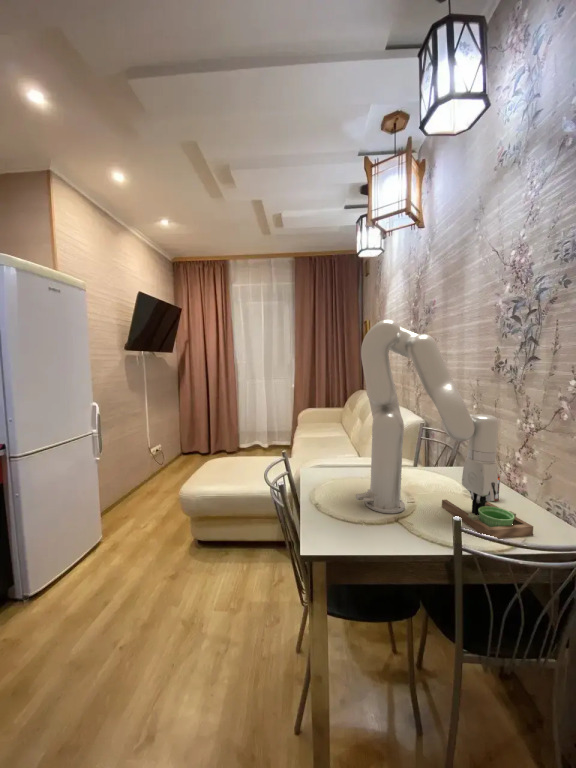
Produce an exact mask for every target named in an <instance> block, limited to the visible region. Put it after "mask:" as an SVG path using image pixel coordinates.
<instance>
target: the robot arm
mask: <svg viewBox="0 0 576 768" xmlns="http://www.w3.org/2000/svg"><path fill="white" fill-rule="evenodd" d="M390 351H391V352H393V353H395V354H397V355H400V356H402V357H405V358H408V359H410V360H411V362H412V364H413V366H414V368H415V371H416V372H417V375H418V378H419V379H420V382H421V384H422V387H423V389H424V390H425V392H426V394H427V395H428V397H429V398H430V399H431V400H432V402H433V404H434V406H435V408H436V409H437V411H438V414H439V416H440V418H441V421H440V424H441V428H442V430H443V431H444V433H445V434H447V435H448V436H449V438H450V439H452V440H454V441H456V442H466V441H468V443H467V444H468V445H467V447H468V448H467V456H466V457H465V459H464V463H463V469H462V476H461V484H462V486H463V488H465V489H466V490H467V491H468V492H469V493H470V500H471V501H472V503H471V514H475V515H476V516H479V512H478V509H479V508H480V507H483V506H485V503H487V501H488V502H489V503H491V502H495V501H494V496H495V495H496V494H497V488H498V474H499V473H498V466H497V465H498V464H497V447H498V433H499V419H498V418H497V417H496V416H494V415H490V414H485V413H484V414H483V413H480V414H477V413H476V414H471V413H470V412H469V410H468V407H467V405H466V403H465V401H464V399H463V397H462V395H461V393H460V391H459V390H458V388H457V385H456V383H455V381H454V379H453V378H452V375H451V373H450V371H449V368H448V366H447V364H446V362H445V360H444V358H443V355H442V352H441V350H440V348H439V346H438V344H437V342H436V340H435V338H433V337H432V336H431V335H429V334H426V333H425V334H424V333H421V334H419V333H415V332H413V331H410V330H408V329H406V328H403V327H402V326H400V324H399V323H398V322H396V321H395V320H393V319H389V318H388V319H387V318H386V319H382V320H380V321H378V322H377V323H375V324H374V325H373V326H371V328H370V329H369V330H368V331H367V333H366V334H365V336H364V337H363V340H362V344H361V347H360V356H361V364H362V370H363V376H364V380H365V381H364V382H365V386H366V387H365V388H366V396H367V398H368V401H369V405H370V411H371V414H372V425H371V428H372V429H371V461H370V462H371V467H370V468H371V469H370V486H369V487H370V488H369V489H367V491H366V492H365V493H356V494H355V500H356V501H362V502H363V503H364V504H365V506H366V507H367V508H369V509H370V510H372V511H373V512H374V511H375V512H377V513H383V514H398V513H402V512H404V511H405V509H406V504H405V501H403V500H401V492H402V490H401V489H402V487H401V486H402V468H403V444H404V435H405V423H404V419H403V417H402V413H401V410H400V405H399V400H398V399H399V398H398V394H397V393H398V392H397V386H396V384H395V381H394V377H393V373H392V369H391V361H390V356H389V355H390V354H389V353H390ZM497 473H498V474H497Z"/></svg>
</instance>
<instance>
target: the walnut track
mask: <svg viewBox="0 0 576 768" xmlns="http://www.w3.org/2000/svg"><path fill="white" fill-rule="evenodd" d="M485 506H492V507H497V508H500V507H499V506H496V505H495V504H493V503H491V502H489V501H487V503H485ZM441 508H442V509H444V510H445V511H447V512H448V513H449V514H451V515H452V516H454V517H455V516H459V517H461V518H462V521H461V522H463V523H464V524H466V525H467V526H468V527H470V528H471V529H473V530H475V531H476V532H477V533H478V534H480V533H483V534H486V535H490V536H494V537H497V539H505V538H517V537H518V538H519V537H527V536H528V537H529V536H533V535H534V526H533V525H532V524H530V523H527V521H524V520H523V519H521V518H519V517H517V513H515V512H513V511H512V510H508V511H509V512H511V513H512V514H513V515H514V520H513V525H510V526H498V527H489V526H487V525H486V524H484V523H482V522H481V521H479V515H475V514H473V513H468V512H466V511H465V510H463V509H462V508H460V507H459V506H458V505H455V504H454V503H453V502H451V501H449V500H448V499H441Z"/></svg>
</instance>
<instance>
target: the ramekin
mask: <svg viewBox="0 0 576 768" xmlns="http://www.w3.org/2000/svg"><path fill="white" fill-rule="evenodd" d="M497 507H498V506H497ZM497 507H492V506H483V507H480V508H479V509H478V512H479V515H478V517H479V521H481V522H482V523H484V524H486V525H487V526H489V527H498V526H510V525H512V524H513V520H514V515H513V514H512V513H511V512H512V511H511V512H509V511H510V510H507V509H504V508H501V507H499V508H497Z"/></svg>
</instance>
